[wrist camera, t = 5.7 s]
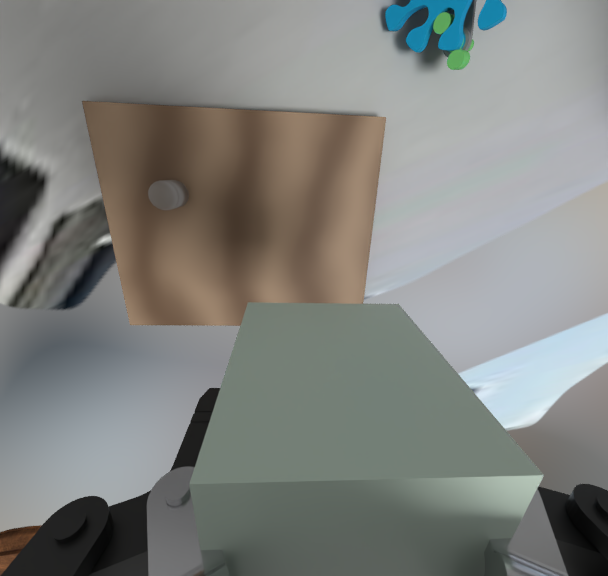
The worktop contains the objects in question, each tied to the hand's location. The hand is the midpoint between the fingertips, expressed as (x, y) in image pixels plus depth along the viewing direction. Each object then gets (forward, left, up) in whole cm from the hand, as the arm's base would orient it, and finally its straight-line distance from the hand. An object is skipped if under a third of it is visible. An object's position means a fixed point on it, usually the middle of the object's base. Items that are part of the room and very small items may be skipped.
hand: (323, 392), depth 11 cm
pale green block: (0, 0, -2) cm, 2 cm away
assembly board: (+5, -3, -17) cm, 18 cm away
